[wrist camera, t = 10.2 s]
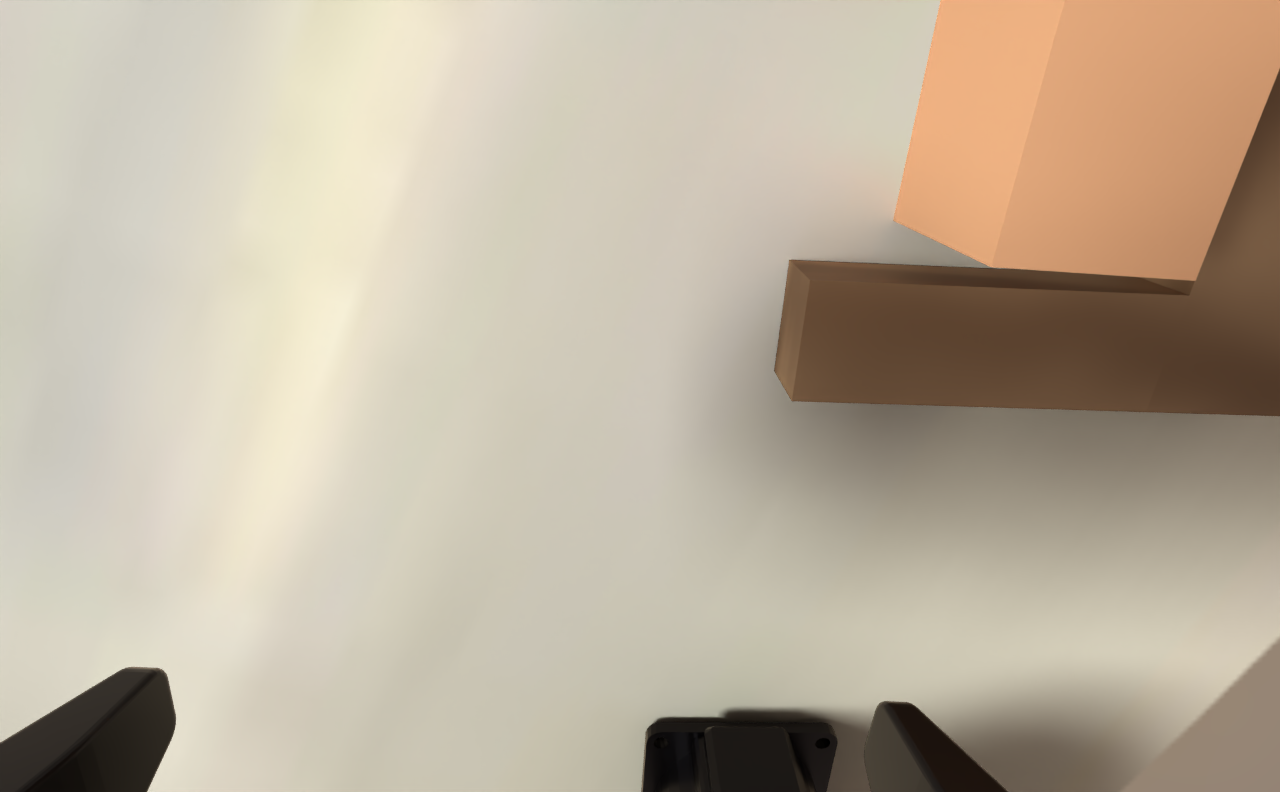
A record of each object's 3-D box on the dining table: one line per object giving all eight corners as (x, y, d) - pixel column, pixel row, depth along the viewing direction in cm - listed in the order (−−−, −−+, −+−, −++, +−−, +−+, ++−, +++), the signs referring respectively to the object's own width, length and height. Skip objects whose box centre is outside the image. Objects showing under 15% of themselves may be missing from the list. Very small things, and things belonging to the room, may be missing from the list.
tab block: (1045, 231, 18) (1195, 280, 13) (892, 220, 18) (991, 267, 13) (1128, -45, 16) (1345, -99, 11) (952, -62, 15) (1099, -125, 11)
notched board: (1233, 385, 20) (1296, 416, 18) (774, 370, 19) (791, 400, 17) (1504, -258, 14) (1637, -309, 12) (868, -316, 13) (909, -379, 12)
